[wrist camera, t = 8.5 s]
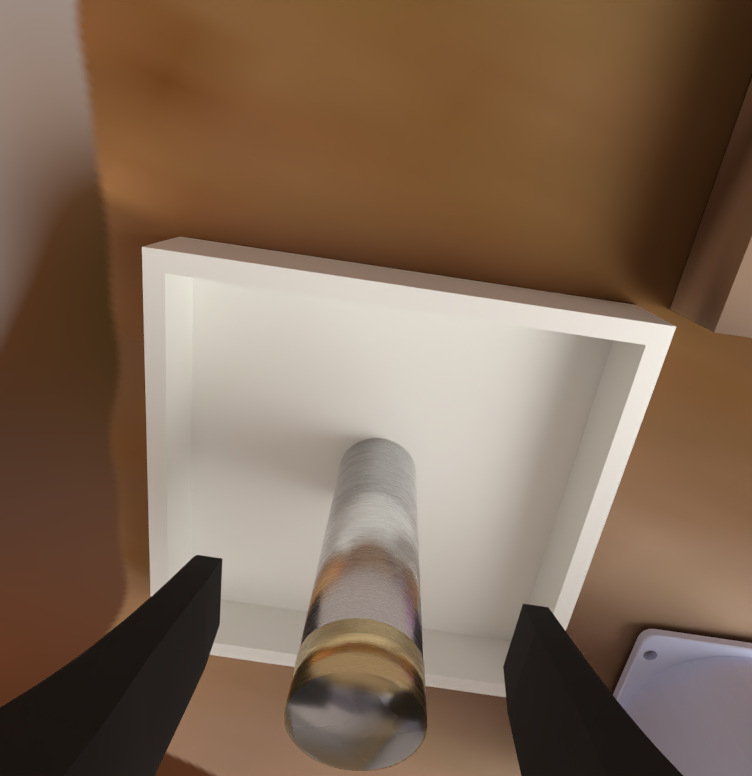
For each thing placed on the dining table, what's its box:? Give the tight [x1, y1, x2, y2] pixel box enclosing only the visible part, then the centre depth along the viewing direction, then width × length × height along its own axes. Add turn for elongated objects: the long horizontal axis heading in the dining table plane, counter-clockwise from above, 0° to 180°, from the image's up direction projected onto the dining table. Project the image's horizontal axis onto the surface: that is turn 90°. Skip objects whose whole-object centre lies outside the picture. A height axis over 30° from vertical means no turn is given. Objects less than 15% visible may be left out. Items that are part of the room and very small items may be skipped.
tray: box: [142, 236, 676, 697], centre depth 18 cm, size 14×14×2 cm
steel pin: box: [284, 438, 427, 771], centre depth 14 cm, size 3×3×9 cm
